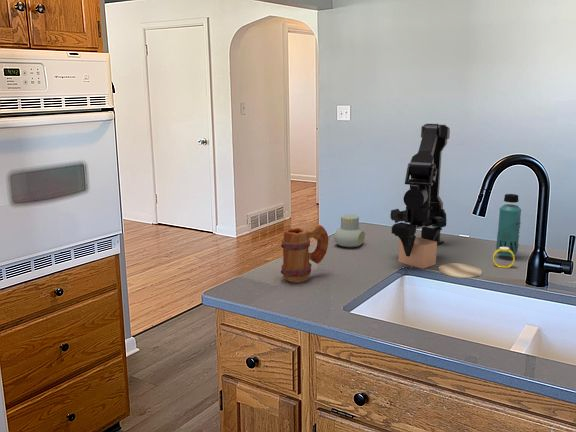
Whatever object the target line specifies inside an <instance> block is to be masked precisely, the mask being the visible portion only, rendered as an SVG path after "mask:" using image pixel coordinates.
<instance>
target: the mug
mask: <svg viewBox="0 0 576 432" xmlns="http://www.w3.org/2000/svg"><path fill="white" fill-rule="evenodd" d="M311 238H313V239H315V240H316V241H317V242H316V247H315V249H314V250H313V251H312V252H309V248H310V246H311V240H310V239H311ZM280 247H281V248H282V259H283V260H282V261H283V262H282V265H281V270H280V274H281V275H283V279H284V280H286V281H288V282H290V283H297V284H298V283H303V282H305V281H308V279H309V278H310V277H311V272H312V263H311V262H310V261H312V262H313V263H315V264H321V262H322V260H323V259H324V258H325V256H326V254H327V251H328V248H329V234H328V232H327V230H326V228H325V227H324V226H322V225H321V224H318V223H315V224H313V225H312V226H311V227H310V228H309V229H305V228H302V229H301V228H300V227H296V228H288V229H285V230H284V231H283V239H282V240H281V244H280Z"/></svg>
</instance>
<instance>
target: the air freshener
mask: <svg viewBox="0 0 576 432" xmlns="http://www.w3.org/2000/svg"><path fill="white" fill-rule="evenodd" d="M359 222H360V217H359V216H358V215H357V214H356V215H355V214H343V215H341V216H340V227H339V228H337V229H336V230H335V232H334V237H333V239H334V240H333V241H334V242H335V243H336V244H337V245H339V246H340V247H344V248H357V247H360V246H361V245H362V244H363V243H364V241H365V237H366V234H365V231H364V230H363V229H361V228H359V227H360V226H359V225H360V224H359Z"/></svg>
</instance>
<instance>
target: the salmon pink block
mask: <svg viewBox="0 0 576 432" xmlns="http://www.w3.org/2000/svg"><path fill="white" fill-rule="evenodd" d="M398 241H399V242H398V258H397V259H398V260H397V261H398V262H399V263H402V264H406V265H408V266H412V267H415V268H419V269H425V268H426V269H427V268H428V267H429V268H430V267H432V266H435V265H437V249H438V248H437V247H438V244H437V242H436V241H432V240H428V239H423V238H421V237H420V236H416V238H415V241H414V245H413V248H412V251H411V254H410V256H409V257H408V256H406V254H405V251H404V248H403V244H402V242H401V239H400V238H399V240H398Z"/></svg>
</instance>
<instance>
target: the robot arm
mask: <svg viewBox="0 0 576 432" xmlns="http://www.w3.org/2000/svg"><path fill="white" fill-rule="evenodd" d="M450 133H451V130H450V127H449V126H447V124H439V123H425V124H423V125H422V126H421V129H420V138H421V140H420V145H419V148H418V151H417V153H416V154H414V155H413V156H412V157H411V159H410V162H408V164H407V168H406V174H405V178H404V185H408V186H409V189H408V190H407V191H406V192H405V193H404V195H403V203H404V205H405V209H404V210H401V211H400V209H399V208H395V209H391V210H390V219H391V220H392V221H394V224H393V225H391V234H393V235H394V236H395V237H398V238H399V239H401V242H402V244H403V248H404V251H405V254H406V256H408V257H409V256H410V254H411V251H412V248H413V245H414V241H415V238H416V237H417V235H416V233H417V230H419V229H421V231H420V232H421V235H420V238H423V239H428V240H432V241H436V242H437V245H440V244H443V243H445V242H444V240H442V239H441V231H442V230H443V228H445V227H446V226H447V213H446V211H445V209H444V202H443V200H442V199H441V197H440V184H441V182H440V180H441V167H442V164H441V163H442V151H444V149H445V147H446V146H447V144H448V140H449V139H450Z"/></svg>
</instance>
